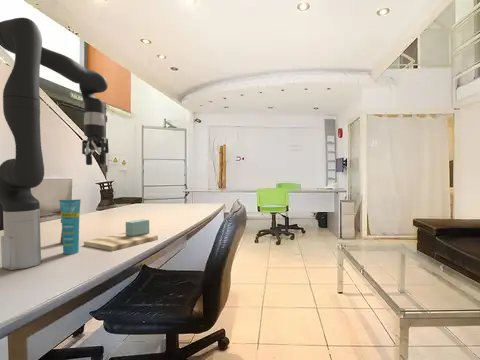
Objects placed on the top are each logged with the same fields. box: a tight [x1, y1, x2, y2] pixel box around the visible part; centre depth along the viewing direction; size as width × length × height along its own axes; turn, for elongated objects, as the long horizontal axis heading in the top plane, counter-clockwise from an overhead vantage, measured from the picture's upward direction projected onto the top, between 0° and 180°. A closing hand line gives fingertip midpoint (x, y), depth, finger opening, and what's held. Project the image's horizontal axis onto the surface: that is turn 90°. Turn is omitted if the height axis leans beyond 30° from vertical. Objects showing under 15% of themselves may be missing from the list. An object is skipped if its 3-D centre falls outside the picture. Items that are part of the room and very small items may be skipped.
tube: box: [58, 198, 82, 255], centre depth 109 cm, size 7×5×19 cm, turn 98°
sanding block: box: [125, 219, 150, 237], centre depth 132 cm, size 9×4×6 cm, turn 149°
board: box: [83, 232, 159, 252], centre depth 125 cm, size 22×18×2 cm
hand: (95, 164), depth 123 cm, fingers open, 8 cm apart
